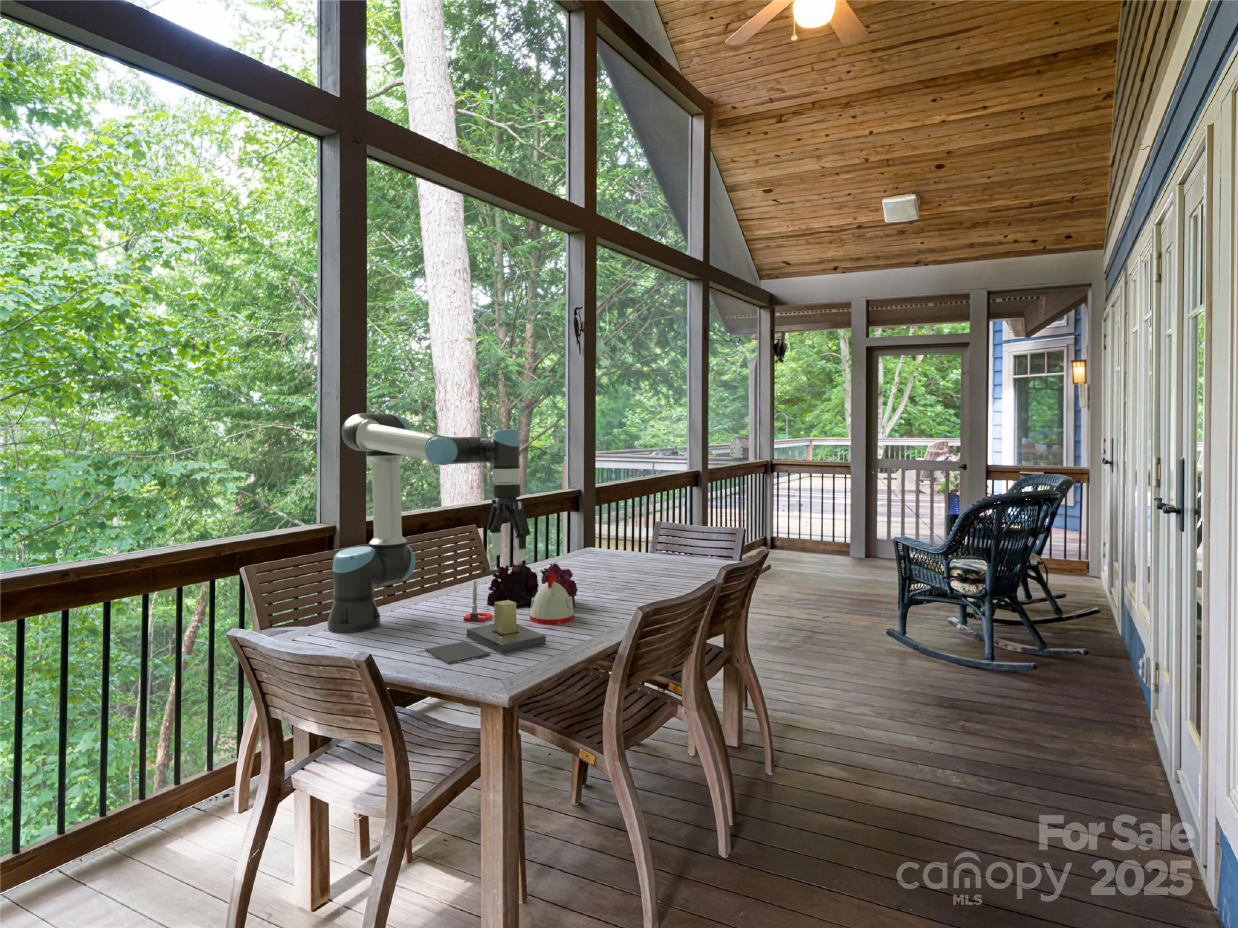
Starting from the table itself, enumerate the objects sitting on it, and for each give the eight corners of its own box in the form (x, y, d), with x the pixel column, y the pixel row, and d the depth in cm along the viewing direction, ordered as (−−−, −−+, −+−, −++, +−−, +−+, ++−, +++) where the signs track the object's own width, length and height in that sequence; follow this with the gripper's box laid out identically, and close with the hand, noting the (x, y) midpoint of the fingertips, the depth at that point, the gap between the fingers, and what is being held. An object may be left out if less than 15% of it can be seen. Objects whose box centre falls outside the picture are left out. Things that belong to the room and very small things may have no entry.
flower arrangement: (481, 608, 243) (481, 564, 243) (503, 595, 262) (503, 554, 262) (570, 614, 236) (570, 568, 235) (586, 600, 255) (586, 558, 255)
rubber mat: (424, 651, 195) (424, 648, 195) (465, 643, 203) (465, 640, 203) (448, 664, 185) (448, 661, 185) (490, 655, 192) (490, 652, 192)
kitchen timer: (524, 623, 224) (524, 575, 223) (536, 612, 238) (536, 567, 237) (568, 625, 222) (568, 577, 221) (577, 614, 236) (577, 568, 235)
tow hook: (470, 615, 235) (460, 621, 226) (471, 575, 235) (461, 580, 226) (495, 616, 234) (486, 622, 225) (496, 576, 234) (487, 581, 225)
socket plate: (466, 637, 209) (466, 628, 209) (508, 629, 218) (508, 620, 217) (501, 653, 193) (501, 644, 193) (545, 644, 202) (545, 635, 202)
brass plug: (494, 640, 206) (494, 602, 205) (508, 637, 209) (508, 599, 208) (502, 644, 202) (502, 605, 202) (516, 641, 205) (516, 602, 205)
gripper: (541, 484, 199) (543, 561, 199) (496, 481, 218) (498, 551, 219) (518, 486, 194) (519, 564, 195) (474, 482, 213) (476, 554, 214)
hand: (508, 557), depth 207 cm, fingers open, 13 cm apart
